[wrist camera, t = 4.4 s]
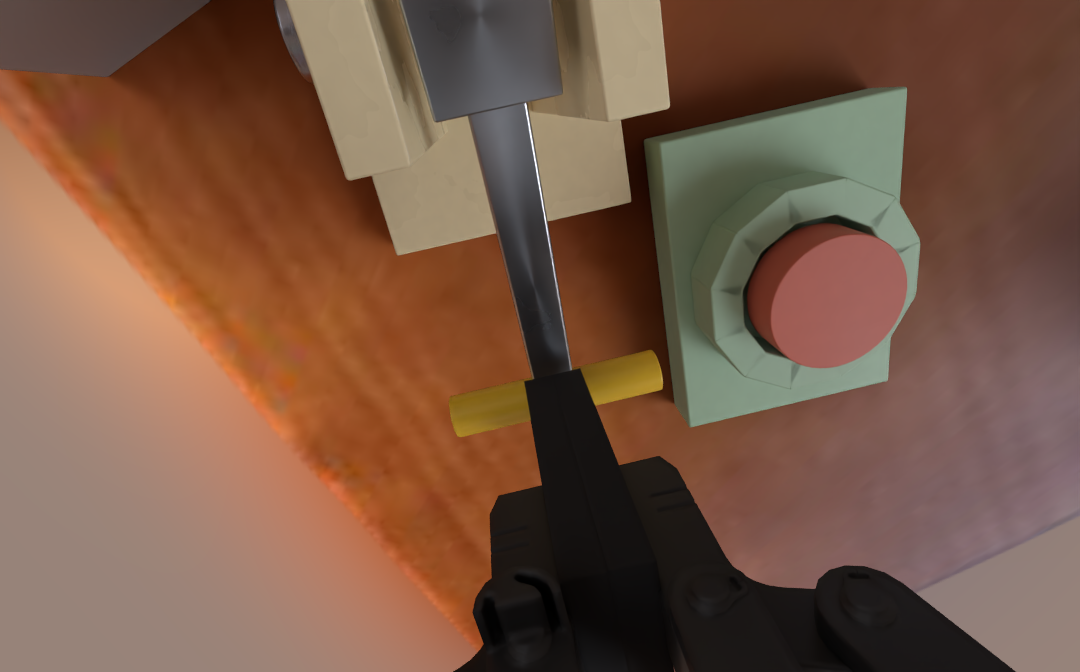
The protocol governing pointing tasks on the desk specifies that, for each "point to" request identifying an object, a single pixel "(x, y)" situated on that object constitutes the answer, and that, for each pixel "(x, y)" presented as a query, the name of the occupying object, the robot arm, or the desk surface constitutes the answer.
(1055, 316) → the desk surface
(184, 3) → the perfume bottle
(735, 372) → the button box
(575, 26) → the bracket
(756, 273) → the button
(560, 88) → the t-handle lever
